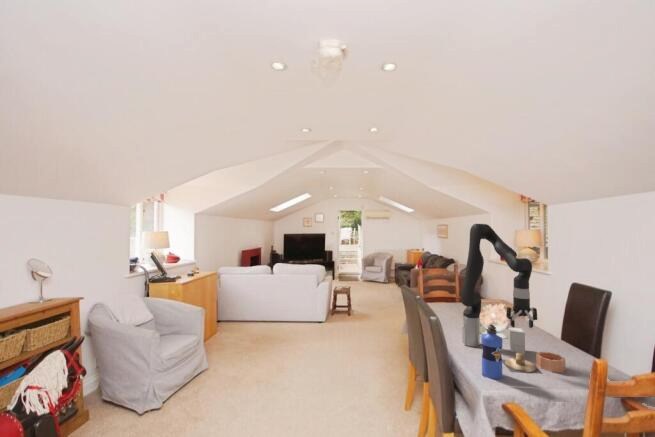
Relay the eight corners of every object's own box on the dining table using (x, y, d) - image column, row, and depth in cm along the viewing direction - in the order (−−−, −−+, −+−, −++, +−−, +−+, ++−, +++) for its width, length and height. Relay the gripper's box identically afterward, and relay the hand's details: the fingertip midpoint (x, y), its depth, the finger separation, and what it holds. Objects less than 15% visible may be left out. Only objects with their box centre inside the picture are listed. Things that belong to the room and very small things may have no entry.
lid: (511, 371, 166) (511, 359, 166) (501, 359, 180) (500, 348, 180) (541, 373, 164) (541, 360, 164) (528, 361, 178) (528, 349, 178)
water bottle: (477, 373, 165) (477, 323, 166) (490, 370, 169) (490, 321, 169) (493, 381, 157) (493, 329, 157) (507, 378, 161) (506, 326, 161)
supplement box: (522, 349, 195) (522, 328, 196) (525, 354, 188) (525, 332, 188) (508, 348, 198) (508, 327, 198) (510, 352, 191) (510, 331, 191)
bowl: (544, 372, 166) (543, 360, 166) (532, 362, 178) (532, 351, 178) (569, 373, 165) (569, 361, 165) (556, 363, 176) (556, 352, 176)
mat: (510, 372, 166) (510, 371, 166) (499, 360, 181) (499, 359, 181) (543, 374, 164) (543, 373, 164) (529, 361, 179) (529, 360, 179)
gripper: (509, 297, 171) (510, 329, 171) (539, 298, 169) (540, 330, 168) (504, 294, 178) (504, 324, 178) (532, 295, 176) (533, 325, 176)
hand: (521, 327), depth 173 cm, fingers open, 8 cm apart
